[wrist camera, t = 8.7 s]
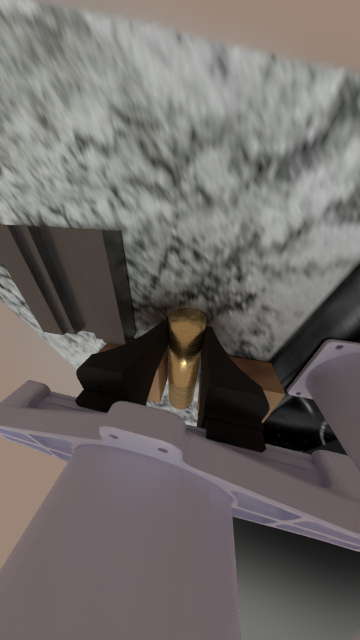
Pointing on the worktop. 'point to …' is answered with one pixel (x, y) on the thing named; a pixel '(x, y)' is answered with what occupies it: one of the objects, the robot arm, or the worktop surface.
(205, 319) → the axle
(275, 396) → the beam
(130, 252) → the worktop surface
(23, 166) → the worktop surface
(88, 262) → the v block
